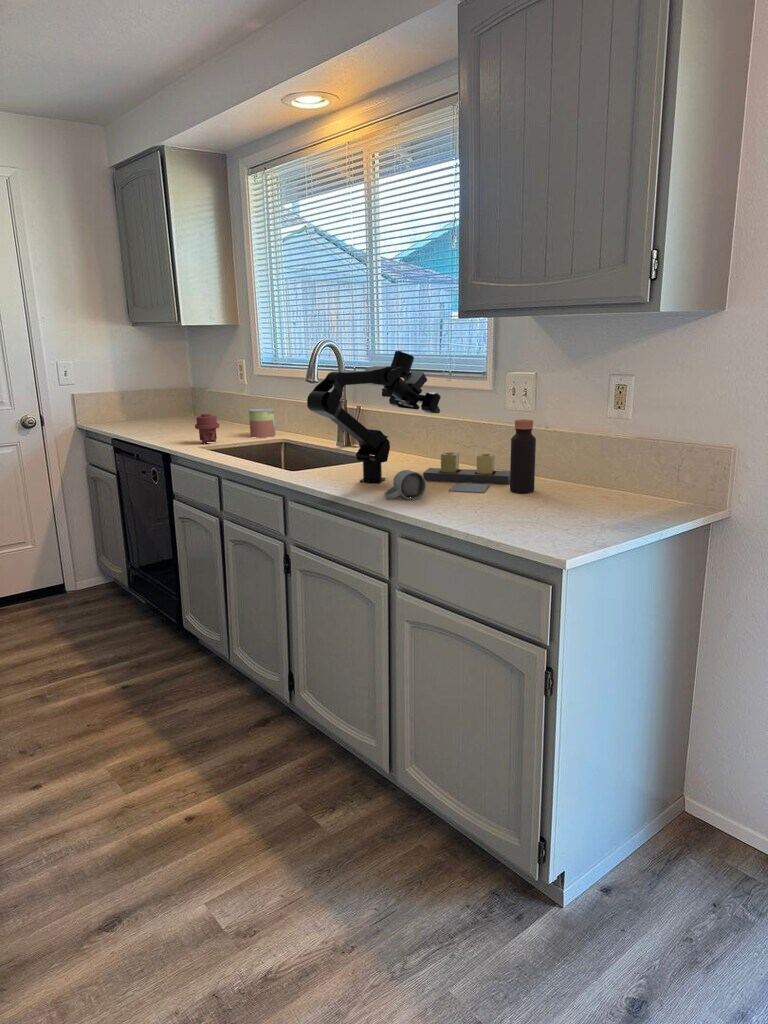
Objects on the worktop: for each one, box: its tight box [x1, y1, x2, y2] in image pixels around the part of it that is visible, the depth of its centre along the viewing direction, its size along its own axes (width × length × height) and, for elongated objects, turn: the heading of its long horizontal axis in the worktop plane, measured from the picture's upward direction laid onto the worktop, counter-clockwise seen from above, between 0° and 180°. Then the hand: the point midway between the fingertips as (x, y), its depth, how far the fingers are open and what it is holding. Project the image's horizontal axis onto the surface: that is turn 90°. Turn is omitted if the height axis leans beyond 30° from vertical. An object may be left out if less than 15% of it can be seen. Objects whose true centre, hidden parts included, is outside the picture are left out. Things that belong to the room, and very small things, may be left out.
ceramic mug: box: [384, 469, 427, 501], centre depth 195 cm, size 11×8×8 cm
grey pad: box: [448, 482, 491, 494], centre depth 205 cm, size 10×10×1 cm
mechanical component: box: [194, 413, 220, 444], centre depth 300 cm, size 12×10×10 cm
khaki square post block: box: [440, 451, 460, 473], centre depth 217 cm, size 5×5×8 cm
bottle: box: [509, 419, 537, 494], centre depth 198 cm, size 7×7×20 cm
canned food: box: [248, 407, 277, 439], centre depth 317 cm, size 11×11×12 cm
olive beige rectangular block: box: [476, 453, 496, 475], centre depth 214 cm, size 5×5×8 cm
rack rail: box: [422, 467, 510, 485], centre depth 216 cm, size 8×26×2 cm, turn 72°
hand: (428, 410), depth 232 cm, fingers open, 9 cm apart
